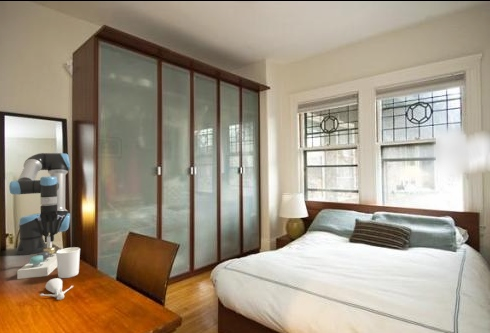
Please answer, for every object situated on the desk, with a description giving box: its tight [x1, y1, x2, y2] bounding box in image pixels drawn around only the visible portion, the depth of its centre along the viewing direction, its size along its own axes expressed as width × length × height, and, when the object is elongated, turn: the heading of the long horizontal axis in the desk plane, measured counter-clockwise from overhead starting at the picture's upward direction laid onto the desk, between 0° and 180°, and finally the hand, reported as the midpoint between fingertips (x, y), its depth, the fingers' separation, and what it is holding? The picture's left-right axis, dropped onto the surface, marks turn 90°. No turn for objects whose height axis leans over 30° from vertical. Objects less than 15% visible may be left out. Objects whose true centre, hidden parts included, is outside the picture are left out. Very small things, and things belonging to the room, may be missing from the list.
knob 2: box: [43, 246, 56, 257], centre depth 149 cm, size 5×5×7 cm
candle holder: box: [55, 246, 81, 279], centre depth 132 cm, size 10×10×12 cm
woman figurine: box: [39, 277, 74, 301], centre depth 112 cm, size 12×4×18 cm
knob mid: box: [36, 251, 50, 262], centre depth 142 cm, size 5×5×7 cm
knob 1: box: [29, 254, 43, 267], centre depth 134 cm, size 5×5×7 cm
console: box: [16, 253, 57, 280], centre depth 142 cm, size 25×12×4 cm, turn 17°
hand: (49, 247), depth 149 cm, fingers closed
